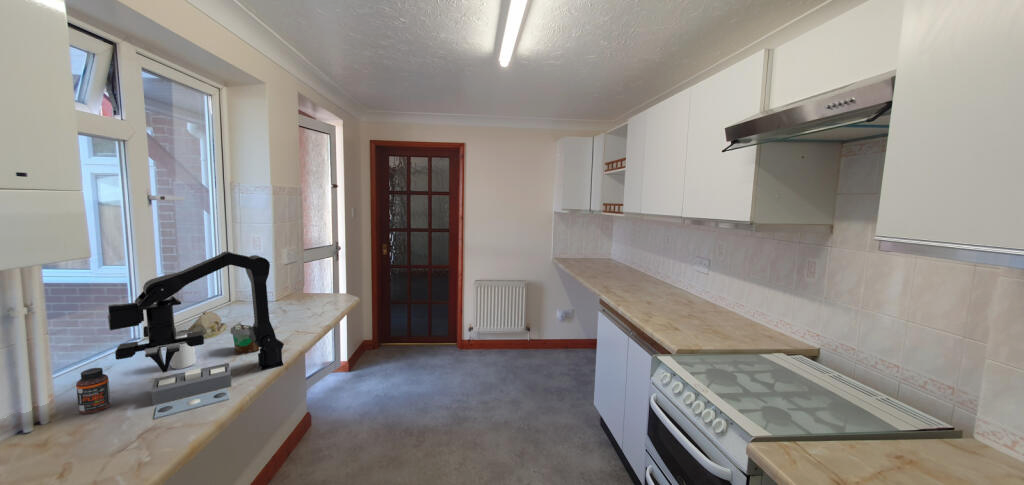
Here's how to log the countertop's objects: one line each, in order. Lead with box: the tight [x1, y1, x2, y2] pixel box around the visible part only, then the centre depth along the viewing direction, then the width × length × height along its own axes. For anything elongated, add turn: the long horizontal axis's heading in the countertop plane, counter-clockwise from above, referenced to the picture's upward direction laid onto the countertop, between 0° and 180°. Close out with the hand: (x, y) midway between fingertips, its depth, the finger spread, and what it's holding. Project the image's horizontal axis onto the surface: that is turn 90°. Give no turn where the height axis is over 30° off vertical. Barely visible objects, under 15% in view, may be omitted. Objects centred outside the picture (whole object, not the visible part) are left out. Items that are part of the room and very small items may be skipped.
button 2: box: [211, 367, 225, 375], centre depth 118 cm, size 4×4×2 cm
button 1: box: [158, 377, 176, 387], centre depth 110 cm, size 4×4×2 cm
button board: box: [150, 362, 232, 406], centre depth 114 cm, size 18×10×4 cm, turn 130°
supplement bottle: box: [75, 367, 112, 415], centre depth 102 cm, size 6×6×11 cm
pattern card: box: [153, 388, 230, 420], centre depth 107 cm, size 16×7×1 cm, turn 130°
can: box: [170, 329, 197, 370], centre depth 129 cm, size 6×6×12 cm
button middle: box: [184, 367, 202, 381], centre depth 114 cm, size 4×4×2 cm
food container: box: [229, 321, 260, 355], centre depth 141 cm, size 12×6×10 cm, turn 68°
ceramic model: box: [187, 311, 227, 340], centre depth 157 cm, size 14×11×10 cm
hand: (165, 371), depth 110 cm, fingers closed
